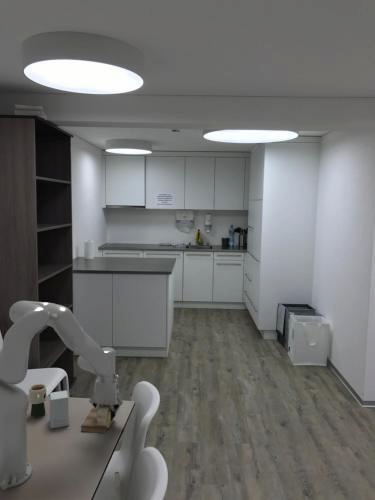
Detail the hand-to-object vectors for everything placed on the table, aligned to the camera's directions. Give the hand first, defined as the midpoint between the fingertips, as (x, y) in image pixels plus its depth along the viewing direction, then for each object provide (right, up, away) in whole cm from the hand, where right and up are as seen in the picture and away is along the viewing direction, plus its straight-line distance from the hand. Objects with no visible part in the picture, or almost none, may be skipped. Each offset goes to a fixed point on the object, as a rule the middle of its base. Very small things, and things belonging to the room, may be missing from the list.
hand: (106, 417), depth 168 cm
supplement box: (-21, -3, +1) cm, 21 cm away
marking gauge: (0, -2, 0) cm, 2 cm away
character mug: (-32, -2, +7) cm, 33 cm away
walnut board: (-3, -3, +7) cm, 8 cm away
